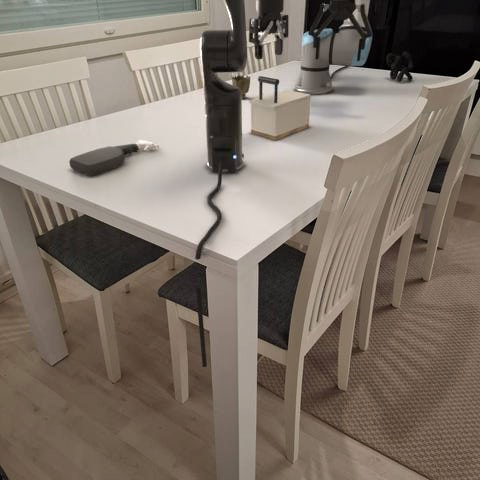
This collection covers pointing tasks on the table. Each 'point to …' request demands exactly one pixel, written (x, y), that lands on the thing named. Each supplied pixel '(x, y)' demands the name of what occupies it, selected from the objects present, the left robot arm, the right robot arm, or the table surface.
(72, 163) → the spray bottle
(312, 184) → the table surface
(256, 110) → the cream rectangular box
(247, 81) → the mottled brown jagged dome
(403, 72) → the squiggle
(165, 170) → the table surface
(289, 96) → the lid
